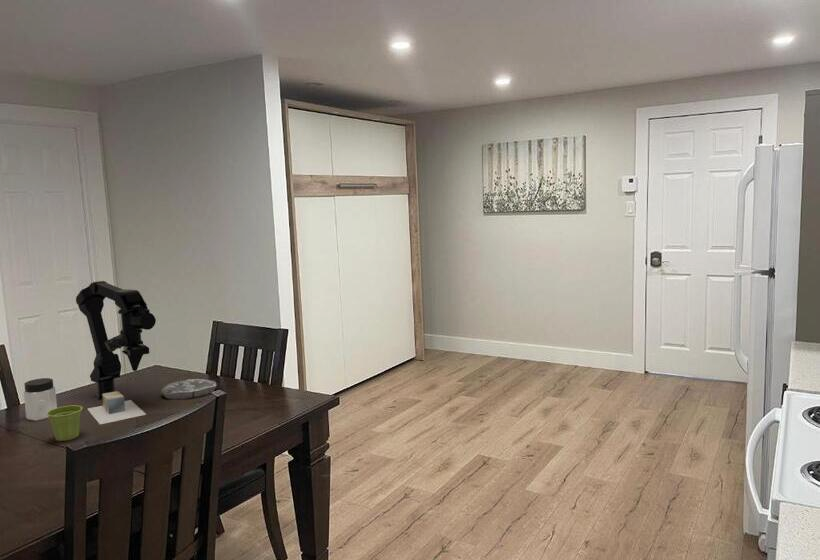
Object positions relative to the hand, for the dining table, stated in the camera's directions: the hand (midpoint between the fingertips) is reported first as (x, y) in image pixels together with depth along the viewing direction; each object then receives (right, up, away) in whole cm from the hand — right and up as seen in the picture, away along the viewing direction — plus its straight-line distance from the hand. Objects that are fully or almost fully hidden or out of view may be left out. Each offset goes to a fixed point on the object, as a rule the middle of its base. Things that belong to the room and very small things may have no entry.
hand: (134, 370), depth 213 cm
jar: (-27, -14, -9) cm, 32 cm away
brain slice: (+14, -11, +13) cm, 22 cm away
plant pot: (-7, -16, -29) cm, 34 cm away
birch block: (-2, -10, -9) cm, 14 cm away
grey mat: (-3, -13, -7) cm, 15 cm away
